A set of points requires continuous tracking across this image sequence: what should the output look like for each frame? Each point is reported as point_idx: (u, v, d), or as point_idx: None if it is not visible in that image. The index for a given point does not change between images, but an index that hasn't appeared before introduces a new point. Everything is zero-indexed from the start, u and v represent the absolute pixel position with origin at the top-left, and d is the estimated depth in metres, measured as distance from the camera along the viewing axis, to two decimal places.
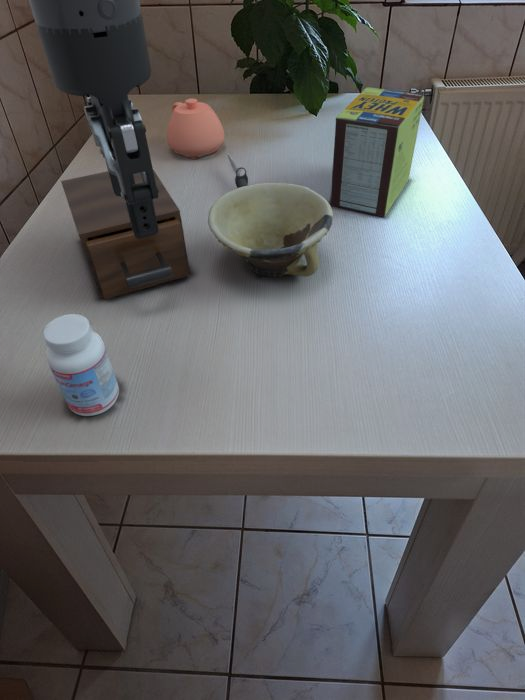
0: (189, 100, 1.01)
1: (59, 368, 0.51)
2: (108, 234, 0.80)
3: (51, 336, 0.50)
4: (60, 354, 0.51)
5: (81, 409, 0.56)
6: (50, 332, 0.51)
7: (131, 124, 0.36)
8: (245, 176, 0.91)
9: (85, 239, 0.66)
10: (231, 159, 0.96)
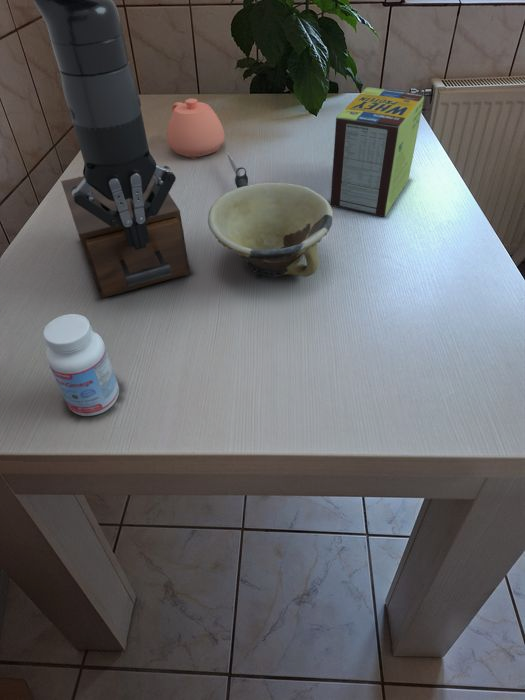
0: (189, 100, 1.01)
1: (59, 368, 0.51)
2: (107, 233, 0.81)
3: (52, 336, 0.50)
4: (60, 354, 0.51)
5: (81, 408, 0.56)
6: (50, 332, 0.51)
7: (73, 195, 0.58)
8: (245, 176, 0.91)
9: (85, 239, 0.66)
10: (231, 159, 0.96)
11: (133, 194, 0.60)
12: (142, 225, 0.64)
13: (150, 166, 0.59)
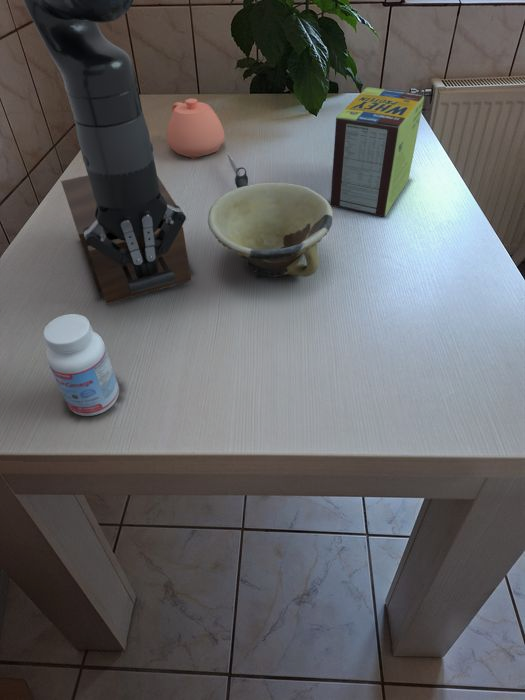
0: (189, 100, 1.01)
1: (59, 368, 0.51)
2: (109, 238, 0.80)
3: (52, 336, 0.50)
4: (60, 354, 0.51)
5: (81, 408, 0.56)
6: (50, 332, 0.51)
7: (85, 236, 0.59)
8: (245, 176, 0.91)
9: (85, 239, 0.66)
10: (231, 159, 0.96)
11: (144, 234, 0.61)
12: (152, 263, 0.65)
13: (161, 207, 0.60)
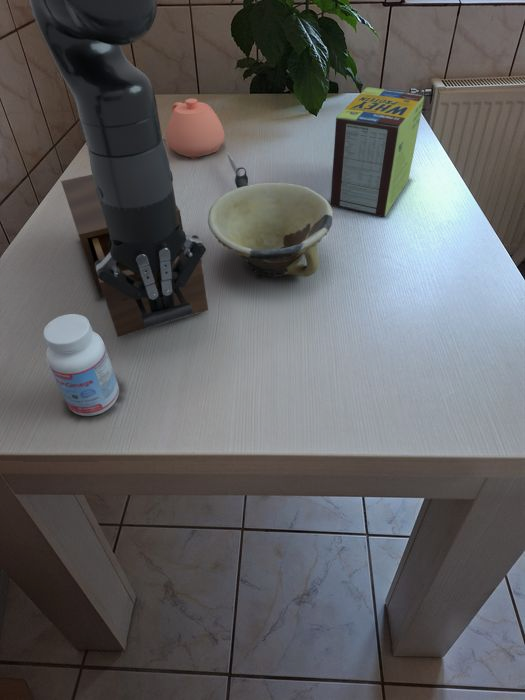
0: (189, 100, 1.01)
1: (59, 368, 0.51)
2: None
3: (52, 336, 0.50)
4: (60, 354, 0.51)
5: (81, 408, 0.56)
6: (50, 332, 0.51)
7: (97, 271, 0.54)
8: (245, 176, 0.91)
9: (85, 239, 0.66)
10: (231, 159, 0.96)
11: (161, 268, 0.56)
12: (169, 296, 0.60)
13: (180, 239, 0.55)
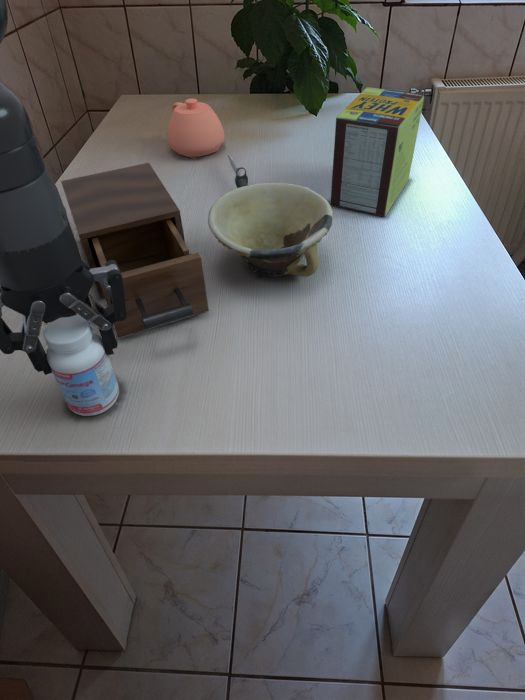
0: (189, 100, 1.01)
1: (59, 368, 0.51)
2: (120, 263, 0.75)
3: (52, 336, 0.50)
4: (60, 354, 0.51)
5: (81, 408, 0.56)
6: (50, 332, 0.51)
7: None
8: (245, 176, 0.91)
9: (85, 239, 0.66)
10: (231, 159, 0.96)
11: (77, 311, 0.48)
12: (108, 331, 0.53)
13: (85, 281, 0.47)
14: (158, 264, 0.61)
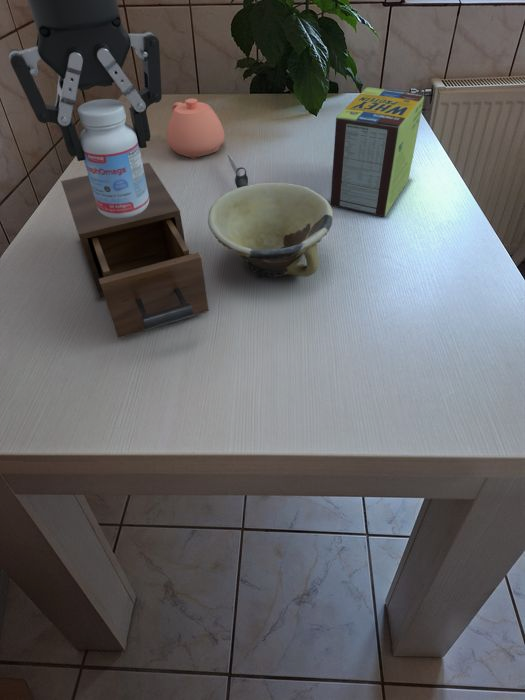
0: (189, 100, 1.01)
1: (93, 147, 0.51)
2: (120, 263, 0.75)
3: (86, 110, 0.50)
4: (94, 133, 0.50)
5: (112, 206, 0.55)
6: (84, 109, 0.50)
7: (11, 55, 0.45)
8: (245, 176, 0.91)
9: (85, 239, 0.66)
10: (231, 159, 0.96)
11: (113, 77, 0.48)
12: (142, 116, 0.52)
13: (122, 41, 0.47)
14: (158, 264, 0.61)
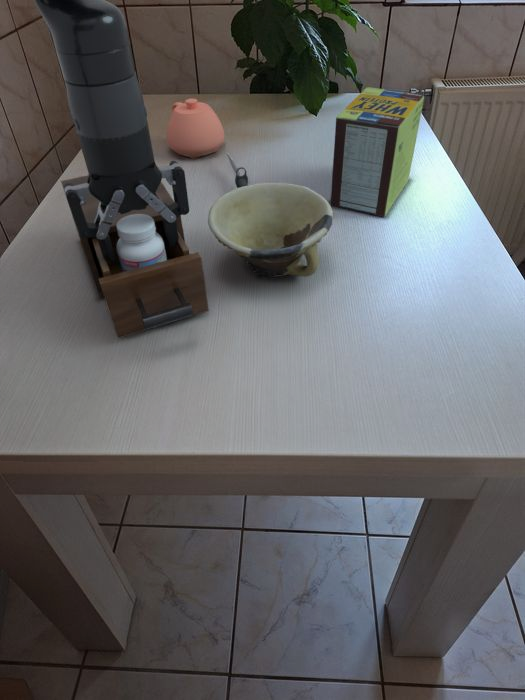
0: (189, 100, 1.01)
1: (129, 256, 0.62)
2: None
3: (124, 228, 0.61)
4: (130, 244, 0.61)
5: None
6: (122, 225, 0.61)
7: (67, 190, 0.55)
8: (245, 176, 0.91)
9: (85, 239, 0.66)
10: (231, 159, 0.96)
11: (149, 203, 0.59)
12: (173, 224, 0.63)
13: (156, 177, 0.58)
14: (158, 264, 0.61)
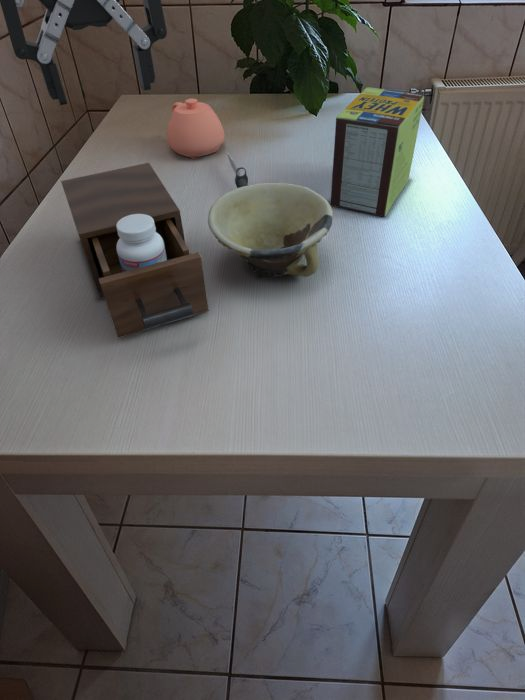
0: (189, 100, 1.01)
1: (129, 256, 0.62)
2: None
3: (124, 228, 0.61)
4: (130, 244, 0.61)
5: None
6: (122, 225, 0.61)
7: None
8: (245, 176, 0.91)
9: (85, 239, 0.66)
10: (231, 159, 0.96)
11: (111, 14, 0.45)
12: (146, 54, 0.50)
13: None
14: (158, 264, 0.61)
